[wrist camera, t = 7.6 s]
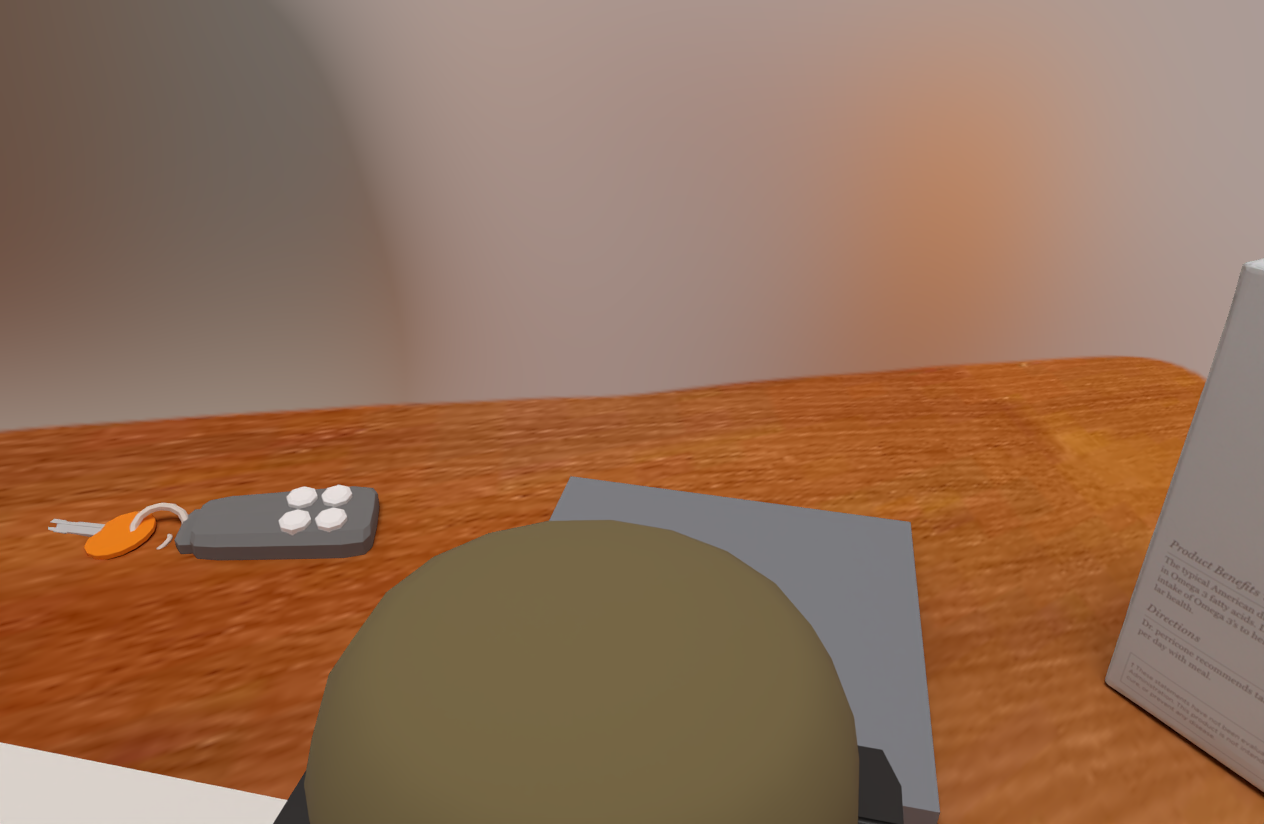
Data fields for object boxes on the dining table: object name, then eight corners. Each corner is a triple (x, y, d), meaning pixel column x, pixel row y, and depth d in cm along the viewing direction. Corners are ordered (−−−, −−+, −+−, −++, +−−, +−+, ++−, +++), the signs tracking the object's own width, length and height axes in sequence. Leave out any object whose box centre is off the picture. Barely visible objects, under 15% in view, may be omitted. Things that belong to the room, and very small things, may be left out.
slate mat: (452, 740, 24) (450, 723, 24) (571, 490, 35) (570, 476, 34) (935, 829, 22) (940, 812, 22) (907, 536, 33) (910, 522, 32)
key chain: (383, 504, 34) (379, 469, 34) (373, 568, 31) (368, 531, 30) (-2, 524, 33) (-15, 488, 32) (-55, 594, 29) (-71, 556, 29)
